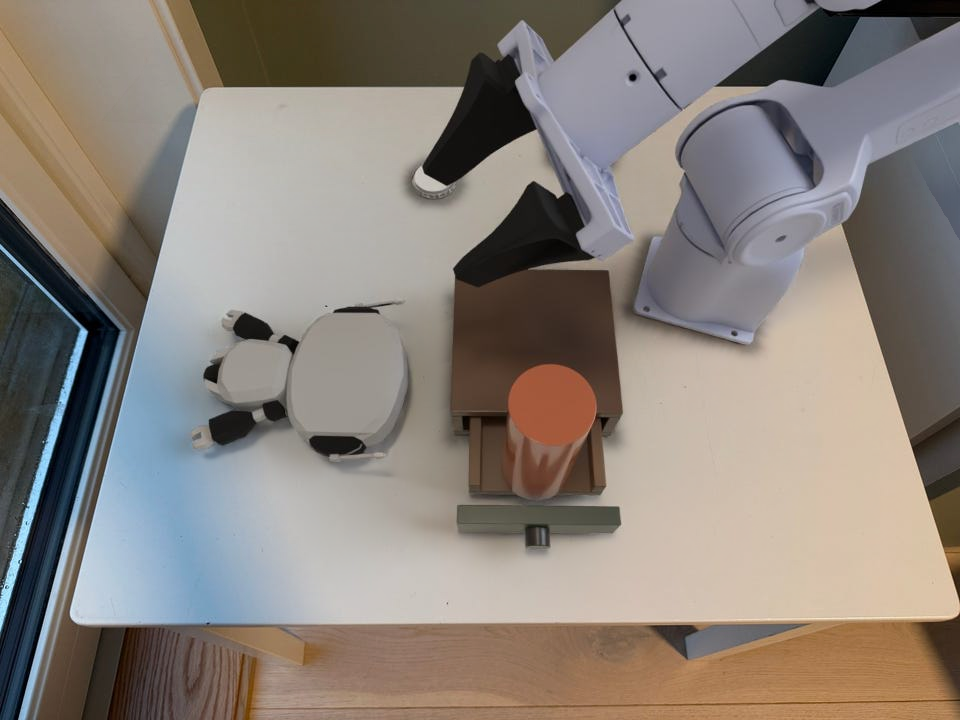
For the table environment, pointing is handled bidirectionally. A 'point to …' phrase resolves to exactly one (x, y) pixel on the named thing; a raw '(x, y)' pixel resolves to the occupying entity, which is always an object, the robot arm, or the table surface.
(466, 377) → the cabinet
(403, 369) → the robot toy
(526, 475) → the orange cylinder post
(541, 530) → the drawer
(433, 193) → the white bottle cap
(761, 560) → the table surface
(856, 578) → the table surface
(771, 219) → the robot arm
